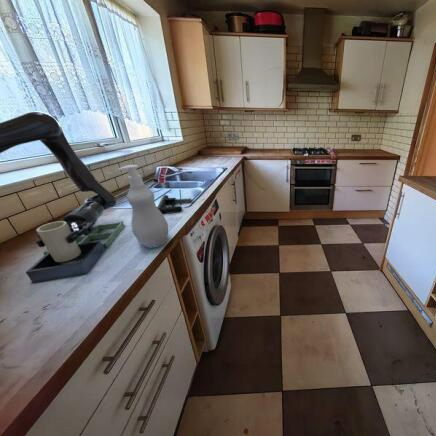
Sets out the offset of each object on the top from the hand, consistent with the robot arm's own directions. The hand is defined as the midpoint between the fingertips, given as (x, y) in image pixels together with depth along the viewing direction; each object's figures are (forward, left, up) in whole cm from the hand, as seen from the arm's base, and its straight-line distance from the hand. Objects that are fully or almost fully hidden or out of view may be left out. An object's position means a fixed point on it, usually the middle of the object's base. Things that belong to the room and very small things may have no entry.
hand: (54, 242), depth 69 cm
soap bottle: (+23, +10, -10) cm, 27 cm away
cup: (0, +2, -6) cm, 7 cm away
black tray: (0, +2, -10) cm, 10 cm away
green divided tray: (-2, +19, -10) cm, 22 cm away
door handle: (+25, +46, -10) cm, 53 cm away
